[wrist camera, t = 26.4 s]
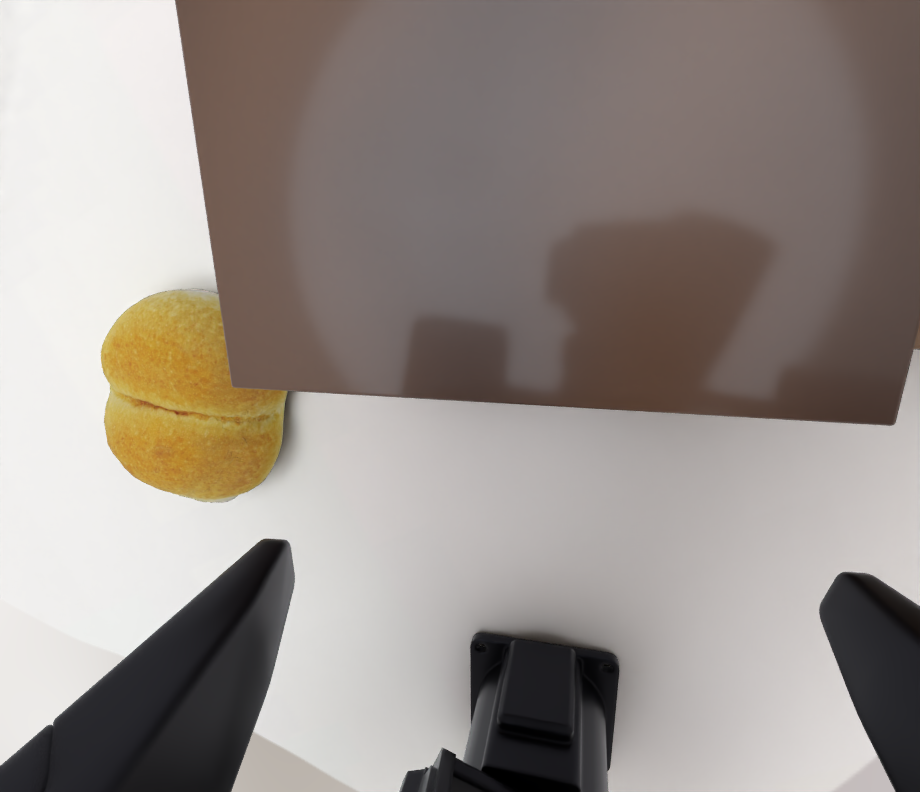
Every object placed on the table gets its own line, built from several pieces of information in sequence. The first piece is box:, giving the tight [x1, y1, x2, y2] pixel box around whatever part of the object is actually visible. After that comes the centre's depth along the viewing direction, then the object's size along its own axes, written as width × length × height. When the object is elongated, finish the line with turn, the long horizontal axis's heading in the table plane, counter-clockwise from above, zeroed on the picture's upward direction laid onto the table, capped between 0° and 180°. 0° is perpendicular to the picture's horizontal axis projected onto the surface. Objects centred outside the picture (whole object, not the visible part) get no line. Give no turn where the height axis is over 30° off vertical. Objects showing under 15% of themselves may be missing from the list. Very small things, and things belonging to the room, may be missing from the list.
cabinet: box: [175, 0, 920, 426], centre depth 13 cm, size 13×12×9 cm
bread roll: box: [101, 289, 288, 503], centre depth 22 cm, size 8×9×4 cm
